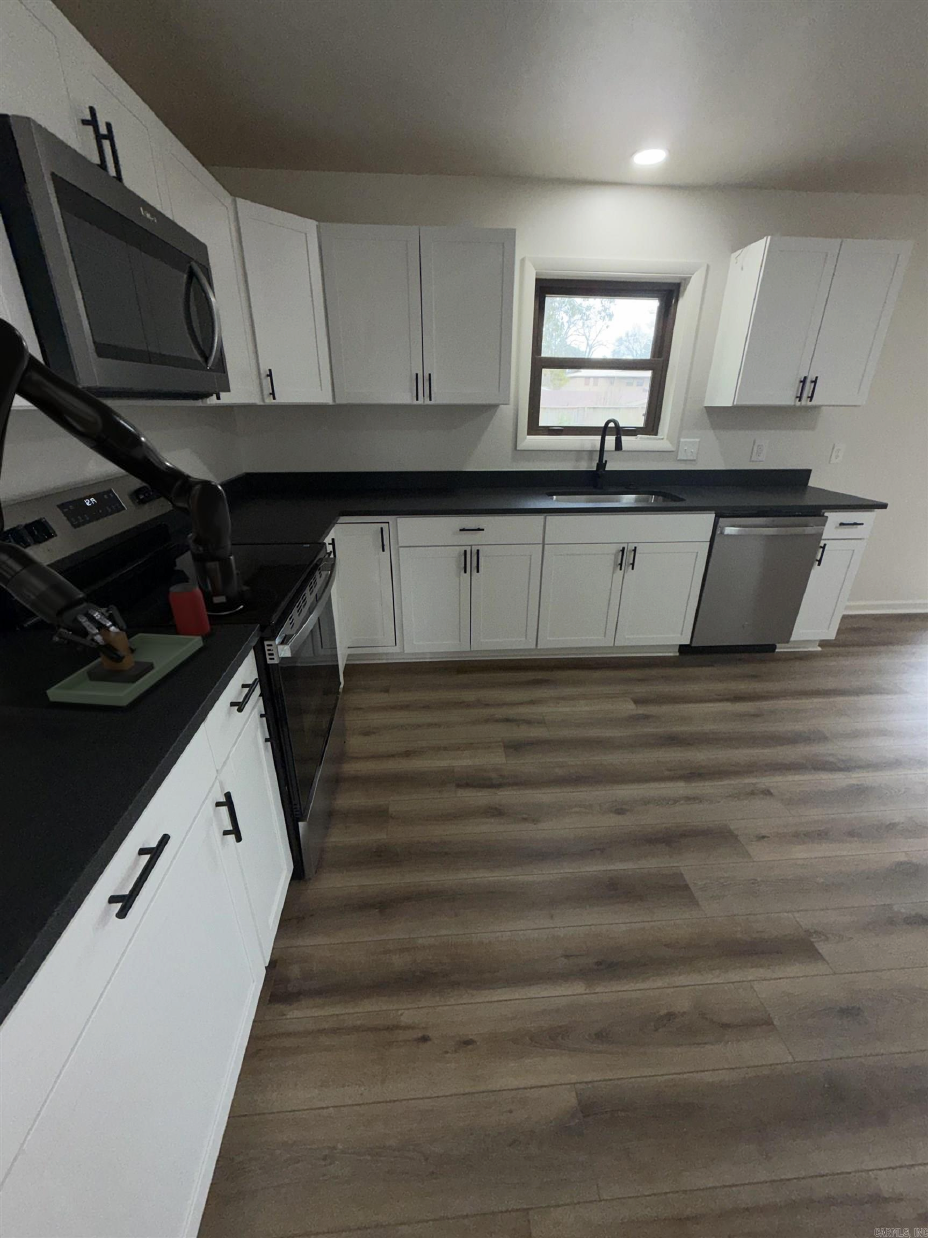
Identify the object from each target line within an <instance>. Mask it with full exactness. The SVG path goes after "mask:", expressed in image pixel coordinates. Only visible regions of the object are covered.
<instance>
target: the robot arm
mask: <svg viewBox="0 0 928 1238" xmlns="http://www.w3.org/2000/svg"><path fill="white" fill-rule="evenodd" d="M16 395H17V396H18V397H20V398H21V399H23V400H25V401H26V402H27V403H29V404H31V405H32V406H33V407H35V408H36V409H37V410H38V411H40V412H41V413H42V414H44V416H46V417H47V418H48V419H50V420H51V421H52V422H54V423H55V424H56V425H58V426H59V427H60V428H61V429H62V430H64V431H65V432H67V433H68V434H69V435H70V436H72V437H73V438H75V439H76V440H77V441H79V442H80V443H81V444H82V445H84V446H86V447H87V448H89V450H92V451H93V452H95V453H96V454H97V455H99V456H100V457H102V458H103V459H104V460H106V461H108V462H110V464H112V465H114V466H116V467H117V468H119V469H121V470H122V471H124V472H125V473H127V474H128V475H130V476H132V477H133V478H136V479H137V480H139V481H141V482H142V483H144V484H145V485H147V486H148V487H150V488H151V489H152V490H153V491H154V492H156V493H157V494H158V495H159V496H161V497H162V498H163V499H165V500H166V501H167V503H169V504H170V505H172V507H174V508H175V509H176V510H177V511H179V512H181V513H182V514H183V515H185V516H188V517H190V519H191V525H192V533H190V534H189V535H188V536H187V542H188V548H189V551H190V556H191V560H192V564H193V568H194V572H195V576H196V581H197V587H198V588H199V589H200V591H201V593H202V596H203V600H204V604H205V609H206V613H207V616H209V617H225V616H229V615H234V614H235V613H238V612H240V611H241V610H243V609H244V608H247V606H248V604H247V602H248V603H250V602H251V600H252V597H253V596H252V591H251V587H248V586H246V585H243V580H242V575H241V572H240V571H238V570H237V568H236V563H235V557H234V553H233V548H232V543H231V533H232V524H231V523H232V522H231V515H230V510H229V504H228V500H227V496H226V493H225V491H224V489H223V488H222V486H221V485H220V484H218V483H217V482H215V481H214V480H211V479H206V478H200V477H196V476H192V475H191V474H189V473H187V472H186V471H184V470H182V469H181V468H179V467H178V466H177V465H175V464H173V463H172V462H171V461H169V460H168V459H167V458H166V457H165V456H164V455H163V454H162V453H161V452H160V451H159V450H158V448H157V447H156V446H155V444H154V443H153V442H152V440H151V439H150V438H149V437H148V436H147V435H146V433H144V432H143V431H142V430H141V429H140V428H139V427H138V426H137V425H135V424H134V423H133V422H132V421H130V420H129V419H128V418H127V417H125V416H124V415H123V414H121V412H119V411H117V410H116V409H115V408H113V407H112V406H110V405H109V404H107V402H105V401H103V400H101V399H100V398H98V397H96V396H95V395H93V394H92V393H90V392H88V391H87V390H85V389H83V388H81V387H79V386H78V385H76V384H74V383H72V382H71V381H69V380H67V379H65V378H64V377H62V376H60V375H59V374H57V373H56V372H54V371H53V370H52V369H51V368H49V367H48V366H47V365H45V363H44V362H42V361H41V360H40V359H38V358H37V357H36V356H35V355H34V354H32V353H31V352H30V351H29V346H28V344H27V341H26V339H25V337H24V335H23V334H22V333H21V332H20V331H19V329H18V328H16V327H15V326H14V325H13V324H12V323H10V322H8V321H7V320H6V319H4V318H2V317H0V479H1V477H2V472H3V471H2V470H3V462H4V455H5V454H4V453H5V446H6V439H7V433H8V426H9V420H10V416H11V412H12V408H13V404H14V401H15V399H16V398H15V397H16ZM2 506H3V505H2V501H1V499H0V586H1V587H3V588H4V589H5V590H7V591H8V592H9V593H10V594H11V595H12V596H13V597H14V598H15V599H16V600H17V601H19V602H20V603H21V604H22V605H24V606H25V607H26V608H28V609H29V610H30V611H31V612H33V613H34V614H36V616H38V617H39V618H41V620H43V621H45V622H46V623H47V624H49V625H51V626H55V628H56V630H57V632H56V634H55V635H54V636H53V638H52V640H51V642H52V644H54V645H56V646H59V647H62V648H65V649H69V650H72V651H75V652H77V653H81V654H84V655H90V654H91V653H99V654H100V653H101V654H102V655H104V656H105V657H106V658H108V659H109V660H110V661H112V662H115V663H117V664H119V663H120V662H122V661H123V659H124V658H125V655H124V654H123V653H122V652H120V651H119V650H117V649H116V648H115V647H114V646H112V645H111V644H110V643H108V644H107V642H106V640H104V639H103V638H102V637H101V636H100V635H99V634H100V633H101V632H103V631H112V632H125V630H126V629H127V625H126V623H125V622H124V620H123V618H122V616H121V614H120V612H119V611H118V609H117V607H116V606H115V605H113V604H111V605H110V604H109V606H108V607H99V606H98V605H96V604H93V603H91V602H90V601H89V600H88V598H87V596H86V594H85V593H83V592H82V591H81V590H80V589H78V588H77V587H76V586H74V585H73V584H72V583H71V582H69V581H68V580H67V579H66V578H64V577H63V576H62V575H60V574H59V573H58V572H56V571H55V570H54V569H52V568H51V567H49V566H47V565H45V563H44V562H42V561H41V560H39V559H38V558H37V557H36V556H34V555H33V554H31V552H29V551H28V550H26V549H25V548H24V547H22V546H20V545H19V544H15V543H9V542H5V541H2V540H1V539H2V537H3V536H4V532H5V517H4V511H3V507H2ZM127 640H128V643H129V647H130V650H131V653H132V655H133V654H134V652H135V651H136V650H137V649H136V646H135V645H134V644H133V643H131V642H130V641H129V639H128V638H127Z"/></svg>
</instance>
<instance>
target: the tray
mask: <svg viewBox="0 0 928 1238" xmlns="http://www.w3.org/2000/svg"><path fill="white" fill-rule="evenodd" d="M202 638H203V637H202V636H181V635H179V634H163V633H162V634H160V633H142V632H141V633H137V634H136V635H134V636H133V637H131V638H129V639H128V640H129V641H130V642H131V643H133V644H134V645H135V646H136V649H137V650H136V651H135V652H134V654H133V655H132V656H133V659H134V661H143V662H153V664H154V668H155V669H153V670H152V671H151V672H149V673H148V674H147V675H145V676H144V677H143V678H141V679H140V680H139V681H137V682H136V683H134V684H132V683H117V682H103V681H90V680H89V677H88V675H87V671H89V670H90V669H92V668H93V667H95V666H96V665H98V664H100V663H101V662H103V661H102V658H101V656H100V657H99V658H97V659H95V660H94V661H93V662H91V663H89V664H88V665H86V666H84V667H83V668H81V669H80V670H78V671H76V672H75V673H73V674H71V675H70V676H68V677H66V678H65V679H63V680H62V681H60V682H59V683H57V684H56V685H54V686H52V687H50V688H49V689H47V690H46V695H47V696H48V699H49V701H50V702H63V703H74V704H75V703H77V704H78V703H79V704H91V705H104V706H105V705H108V706H121V707H126V706H127V705H128V704H130V703H131V702H133V700H135V699H136V698H137V697H139V696H140V695H141V694H142V693H144V692H145V691H146V690H147V689H149V688H150V687H151V686H153V685H155V683H156V682H158V680H159V681H160V679H162V678H163V677H164V676H165V675H167V674H168V673H169V672H170V671H172V670H173V669H174V668H176V667H177V666H178V665H179V664H180V663H181V664H182V662H183V661H185V660H186V659H187V658H188V657H190V656H191V655H192V654H194V653H195V652H196V651H198V650H199V648H201V647H202V646H204V643H203V639H202Z"/></svg>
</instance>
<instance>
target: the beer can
mask: <svg viewBox="0 0 928 1238" xmlns="http://www.w3.org/2000/svg"><path fill="white" fill-rule="evenodd" d="M168 599H169V604H170V607H171V611H172V614H173V618H174V621H175V622H174V623H175V625H176V630H177V633H178V635H181V636H200V637H202V636H203V635H206V634H208V633H209V632H210V631H211V626H210V625H211V624H210V622H209V617H208V615H207V613H206V609H205V604H204V600H203V596H202V593H201V591H200V589H199V586H198V583H194V582H183V583H178V584H175V585H172V586H171V587H169V594H168Z"/></svg>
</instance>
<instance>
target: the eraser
mask: <svg viewBox="0 0 928 1238" xmlns="http://www.w3.org/2000/svg"><path fill="white" fill-rule="evenodd" d="M99 635H100V636H101V637H102V638H103V639H104V640H106V642H107V644H108V643H110V644H111V645H112V646H114V647H115V648H116V649H117V650H119V651H120V652H122V653H123V654H124V655H125V658H124V659H123V661H122V662H120V663H119V664H117V663H115V662H112V661H110V660H109V659H108V658H106V657H105V656H104V655H102V654H101V653H100V652H99V656H100V657H101V658H102V661H103V662H101V663H100V664H98V665H96V666H95V667H93V668H92V669H90V670H89V671H87V675H88V677H89V680H90V681H103V682H117V683H132V684H134V683H136V682H137V681H139V680H140V679H141V678H143V677H144V676H145V675H147V674H148V673H149V672H151V671H152V670H153V669H155V668H154V664H153V662H143V661H134V659H133V656H132V653H131V650H130V647H129V643H128V640H129V639H128V637H127V634H126V632H125V631H124V632H112V631H103V632H101V633H100V634H99ZM127 639H128V640H127Z"/></svg>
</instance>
